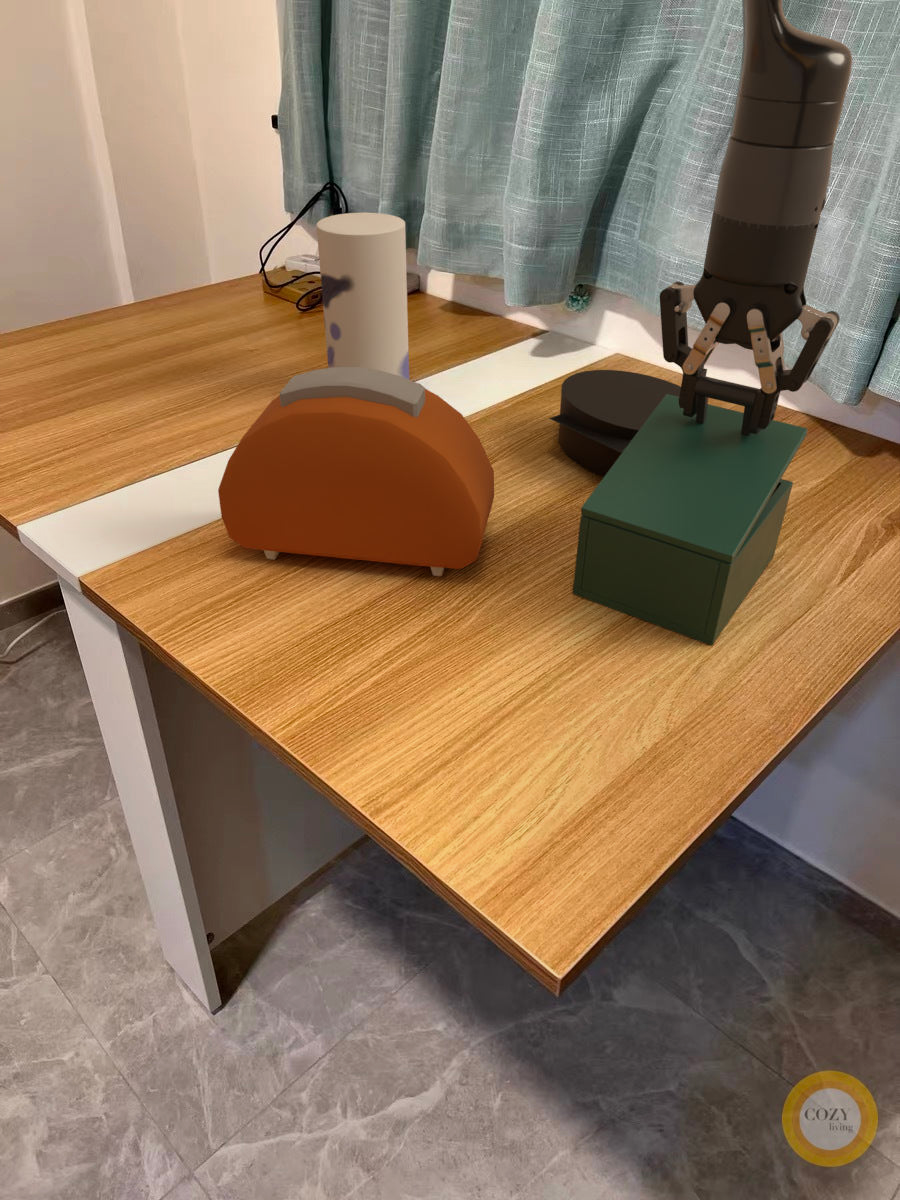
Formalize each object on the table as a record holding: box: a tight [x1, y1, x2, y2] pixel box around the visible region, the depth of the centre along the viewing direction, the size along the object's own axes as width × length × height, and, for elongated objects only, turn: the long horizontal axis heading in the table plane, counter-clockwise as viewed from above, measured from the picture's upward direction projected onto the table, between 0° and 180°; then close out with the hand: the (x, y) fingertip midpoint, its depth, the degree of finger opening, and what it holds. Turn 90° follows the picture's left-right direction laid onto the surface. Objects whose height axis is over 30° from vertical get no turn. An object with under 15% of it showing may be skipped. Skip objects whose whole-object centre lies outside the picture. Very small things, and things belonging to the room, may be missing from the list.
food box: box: [572, 478, 794, 646], centre depth 77 cm, size 16×13×8 cm
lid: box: [580, 375, 809, 563], centre depth 71 cm, size 16×13×5 cm
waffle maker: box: [548, 369, 681, 478], centre depth 96 cm, size 14×18×8 cm
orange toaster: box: [217, 367, 495, 577], centre depth 78 cm, size 23×9×17 cm, turn 80°
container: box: [316, 212, 410, 380], centre depth 106 cm, size 10×10×20 cm
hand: (723, 421), depth 75 cm, fingers closed on lid, 5 cm apart
